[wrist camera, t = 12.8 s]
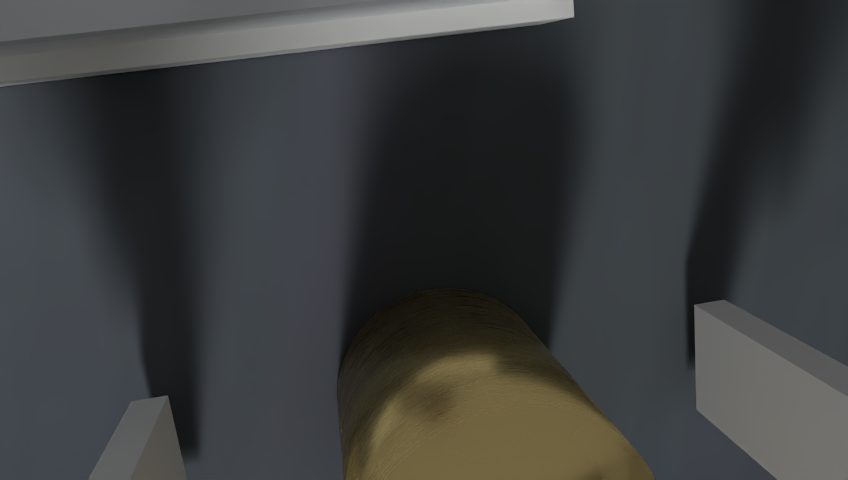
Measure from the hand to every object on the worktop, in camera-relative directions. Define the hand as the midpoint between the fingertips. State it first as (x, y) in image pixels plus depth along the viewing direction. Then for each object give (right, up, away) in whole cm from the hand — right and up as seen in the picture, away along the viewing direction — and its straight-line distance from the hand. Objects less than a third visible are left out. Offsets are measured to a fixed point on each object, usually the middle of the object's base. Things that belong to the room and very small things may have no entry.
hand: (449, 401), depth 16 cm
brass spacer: (0, 0, +1) cm, 1 cm away
